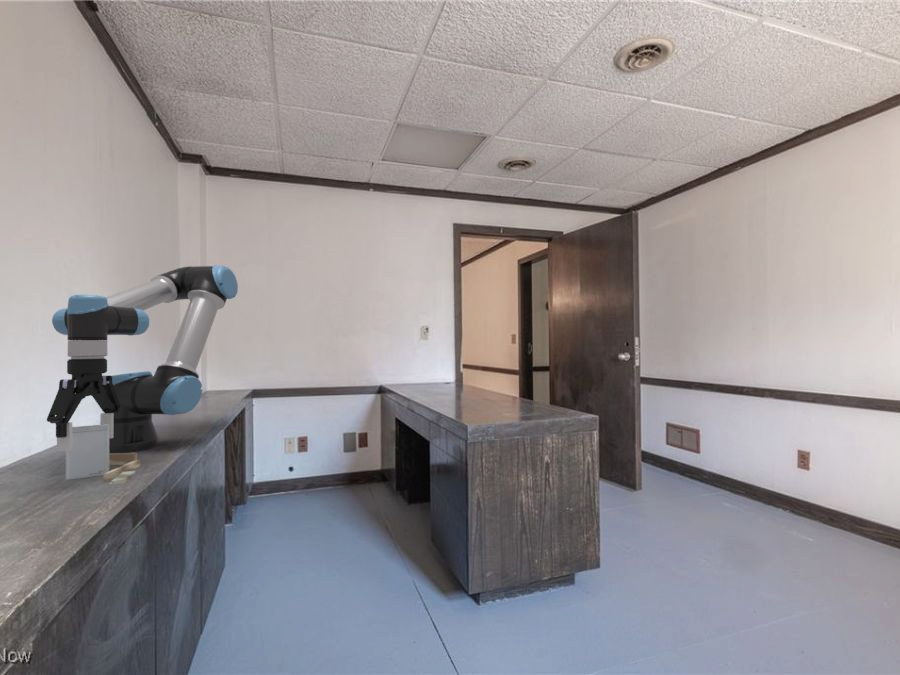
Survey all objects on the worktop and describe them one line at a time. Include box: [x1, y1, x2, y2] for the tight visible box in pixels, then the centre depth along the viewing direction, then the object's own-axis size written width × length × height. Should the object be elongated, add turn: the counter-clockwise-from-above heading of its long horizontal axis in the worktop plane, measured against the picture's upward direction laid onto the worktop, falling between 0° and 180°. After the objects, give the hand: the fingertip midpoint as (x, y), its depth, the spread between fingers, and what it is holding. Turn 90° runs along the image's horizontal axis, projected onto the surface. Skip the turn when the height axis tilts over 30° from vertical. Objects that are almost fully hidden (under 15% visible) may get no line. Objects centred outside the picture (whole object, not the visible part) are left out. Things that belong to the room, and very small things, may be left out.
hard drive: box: [65, 424, 110, 481], centre depth 105 cm, size 2×8×12 cm, turn 119°
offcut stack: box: [108, 470, 137, 486], centre depth 102 cm, size 8×3×1 cm, turn 17°
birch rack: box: [103, 452, 142, 483], centre depth 107 cm, size 16×13×3 cm
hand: (87, 444), depth 104 cm, fingers open, 13 cm apart
